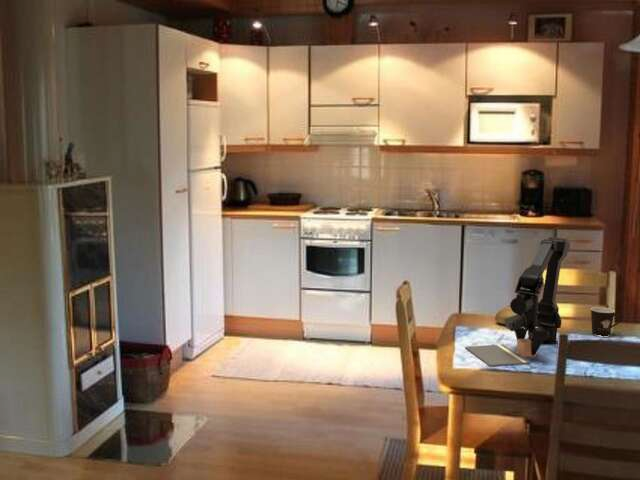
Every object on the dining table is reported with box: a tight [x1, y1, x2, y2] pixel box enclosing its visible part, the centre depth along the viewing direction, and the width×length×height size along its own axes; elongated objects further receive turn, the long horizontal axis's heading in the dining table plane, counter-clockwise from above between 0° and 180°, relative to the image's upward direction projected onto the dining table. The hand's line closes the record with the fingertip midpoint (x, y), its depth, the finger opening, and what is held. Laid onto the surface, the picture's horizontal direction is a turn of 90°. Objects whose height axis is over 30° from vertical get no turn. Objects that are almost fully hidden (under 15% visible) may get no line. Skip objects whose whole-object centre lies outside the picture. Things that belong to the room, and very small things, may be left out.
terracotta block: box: [516, 337, 538, 358], centre depth 258 cm, size 5×5×5 cm
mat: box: [464, 343, 531, 368], centre depth 256 cm, size 15×20×1 cm
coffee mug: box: [590, 306, 623, 336], centre depth 282 cm, size 12×9×10 cm
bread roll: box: [494, 305, 517, 325], centre depth 293 cm, size 10×15×8 cm, turn 56°
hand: (526, 351), depth 258 cm, fingers open, 9 cm apart
